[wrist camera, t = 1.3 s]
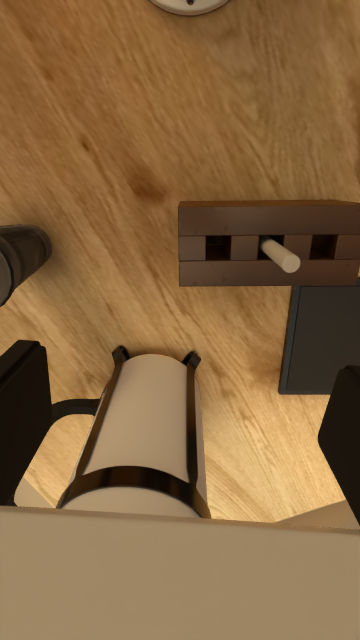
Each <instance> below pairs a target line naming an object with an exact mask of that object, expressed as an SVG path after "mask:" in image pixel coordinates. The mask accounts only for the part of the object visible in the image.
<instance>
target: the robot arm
mask: <svg viewBox="0 0 360 640" xmlns="http://www.w3.org/2000/svg"><path fill="white" fill-rule="evenodd" d="M150 1H151V2H152V3H153V4H155V5H157V6H158V7H160V8H162V9H164V10H165V11H168V12H171V13H175V14H178V15H192V16H194V15H199V14H204V13H208V12H210V11H212V10H214V9H216V8H219V7H221V6H222V5H223V4H225V3H226V2H227V1H229V0H191V1H193V5H188V1H189V0H150ZM52 418H53V412H52V403H51V393H50V383H49V373H48V363H47V353H46V348H45V347H44V346H41V345H40V342H38V341H30V340H18V341H16V342H15V343H14V344H13V345H12V346H11V347H10V348H9V349H8V350H7V351H6V352H5V353H4V354H3V355H1V356H0V640H360V530H356V529H344V528H331V527H318V526H304V525H291V524H278V523H264V522H250V521H236V520H222V519H207V518H193V517H178V516H163V515H149V514H133V513H118V512H102V511H86V510H70V509H55V508H39V507H17V506H6V504H7V503H8V501H9V499H10V497H11V495H12V494H13V492H14V490H15V488H16V486H17V485H18V483H19V481H20V479H21V478H22V476H23V474H24V472H25V470H26V469H27V467H28V465H29V463H30V461H31V460H32V458H33V456H34V454H35V452H36V451H37V449H38V447H39V445H40V444H41V442H42V440H43V438H44V436H45V435H46V433H47V431H48V429H49V427H50V425H51V423H52ZM318 443H319V446H320V448H321V450H322V452H323V454H324V456H325V458H326V460H327V462H328V464H329V466H330V468H331V470H332V472H333V474H334V476H335V478H336V480H337V482H338V484H339V486H340V488H341V490H342V492H343V494H344V496H345V498H346V499H347V501H348V503H349V505H350V507H351V509H352V511H353V513H354V515H355V517H356V519H357V521H358V523H359V525H360V366H357V365H346V366H345V367H344V369H340V370H339V371H338V374H337V377H336V380H335V383H334V386H333V389H332V392H331V396H330V399H329V402H328V405H327V408H326V411H325V414H324V417H323V421H322V424H321V427H320V430H319V433H318Z"/></svg>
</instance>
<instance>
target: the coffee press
mask: <svg viewBox="0 0 360 640" xmlns="http://www.w3.org/2000/svg"><path fill="white" fill-rule="evenodd" d="M112 356H113V359H114V363H115V368H114V372H113V374H112V376H111V378H110V380H109V381H108V383H107V384H106V386H105V388H104V390H103V392H102V395H103V397H102V395H101V397H100V399H70V400H64V401H60V402H57V403H55V404H53V405H52V412H53V418H52V423H51V425H50V427H51V426H52V425H53V424H54V423H55V422H56V421H57V420H59V419H60V418H62V417H64V416H67V415H71V414H90V415H93V416H95V417H94V420H93V422H92V425H91V427H90V430H89V433H88V435H87V438H86V440H85V443H84V445H83V448H82V450H81V453H80V455H79V458H78V461H77V463H76V466H75V468H74V471H73V473H72V476H71V478H70V481H69V484H68V486H67V489H66V490H65V491H64V492H63V494H62V495H61V497H60V499H59V501H58V504H57V506H56V508H55V509H70V510H86V511H102V512H118V513H133V514H149V515H163V516H178V517H193V518H207V519H211V513H210V510H209V508H208V504H207V489H206V473H205V458H204V442H203V427H202V412H201V398H200V390H199V385H198V382H197V380H196V378H195V376H194V374H195V370H196V368H197V366H198V364H199V363H200V361H201V358H200V357H199V356H198V355H197V354H196V353H195V352H194V351H191V352H190V353H189V354H188V355H187V356H186V357H185V358H184V360H183V361H182V362H179V361H178V360H176V359H173V358H171V357H168V356H164V355H159V354H145V355H140V356H136V357H133V358H130V356H129V354H128V352H127V350H126V349H125V348H124V347H123V346H119V347H118V348H117V349H115V350H114V351H113V352H112ZM103 393H104V394H103ZM101 399H102V400H101ZM50 427H49V429H50ZM49 429H48V430H49ZM47 432H48V431H47ZM46 434H47V433H46ZM45 436H46V435H45ZM45 436H44V437H45ZM43 439H44V438H43ZM42 441H43V440H42ZM41 443H42V442H41ZM39 446H40V445H39ZM38 448H39V447H38ZM37 450H38V449H37ZM36 452H37V451H36ZM36 452H35V453H36ZM34 455H35V454H34ZM33 457H34V456H33ZM32 459H33V458H32ZM31 461H32V460H31ZM31 461H30V462H31ZM29 464H30V463H29ZM28 466H29V465H28ZM27 468H28V467H27ZM26 470H27V469H26ZM26 470H25V471H26ZM24 473H25V472H24ZM23 475H24V474H23ZM22 477H23V476H22ZM21 479H22V478H21ZM21 479H20V481H21ZM20 481H19V483H20ZM19 483H18V485H19ZM18 485H17V486H16V488H15V490H14V492H13V494H12V495H11V497H10V499H9V501H8V503H7V504H6V506H17V505H16V504H15V503H14V495H15V491H16V489H17V487H18ZM17 507H18V506H17Z"/></svg>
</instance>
